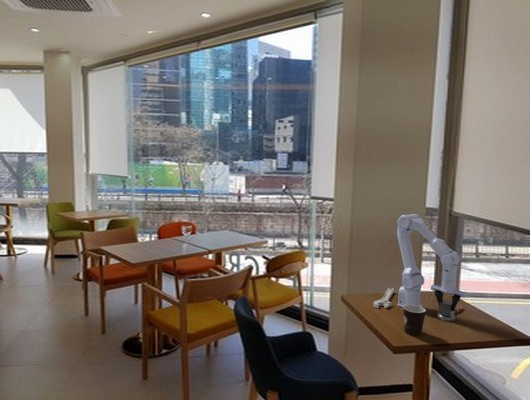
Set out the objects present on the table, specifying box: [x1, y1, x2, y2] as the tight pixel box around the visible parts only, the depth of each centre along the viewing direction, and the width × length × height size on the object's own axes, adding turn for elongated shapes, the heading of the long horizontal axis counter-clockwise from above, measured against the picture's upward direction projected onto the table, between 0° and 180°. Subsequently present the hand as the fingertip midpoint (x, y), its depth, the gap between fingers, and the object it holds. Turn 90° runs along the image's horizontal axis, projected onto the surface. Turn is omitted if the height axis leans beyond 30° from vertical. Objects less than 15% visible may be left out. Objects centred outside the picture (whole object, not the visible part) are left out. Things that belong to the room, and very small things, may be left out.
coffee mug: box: [402, 305, 427, 337], centre depth 169 cm, size 12×9×10 cm
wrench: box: [372, 287, 395, 309], centre depth 207 cm, size 8×2×30 cm
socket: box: [438, 298, 455, 316], centre depth 184 cm, size 5×5×5 cm
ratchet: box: [436, 303, 463, 323], centre depth 189 cm, size 7×22×5 cm, turn 138°
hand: (446, 309), depth 184 cm, fingers closed on socket, 5 cm apart
